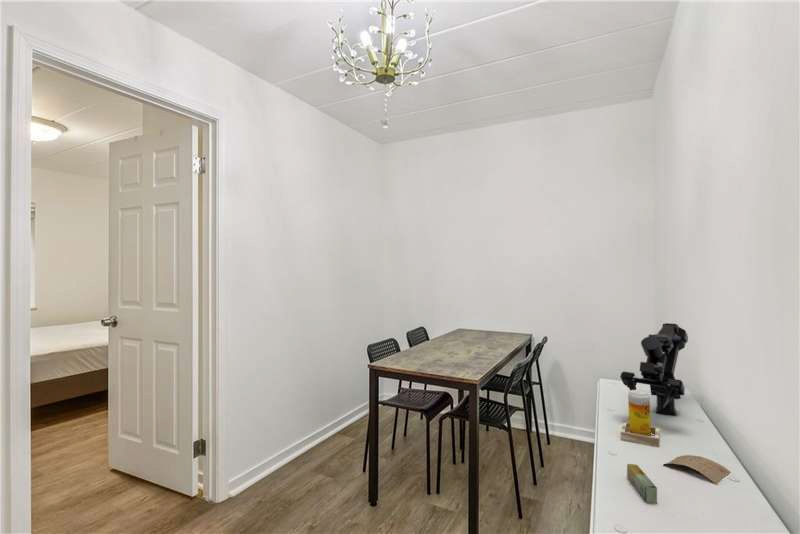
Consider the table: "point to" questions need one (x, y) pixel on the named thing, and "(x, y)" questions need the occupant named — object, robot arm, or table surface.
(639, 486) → the medication box
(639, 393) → the beer can
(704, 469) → the curved brown cardboard
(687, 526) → the table surface
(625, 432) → the tray
